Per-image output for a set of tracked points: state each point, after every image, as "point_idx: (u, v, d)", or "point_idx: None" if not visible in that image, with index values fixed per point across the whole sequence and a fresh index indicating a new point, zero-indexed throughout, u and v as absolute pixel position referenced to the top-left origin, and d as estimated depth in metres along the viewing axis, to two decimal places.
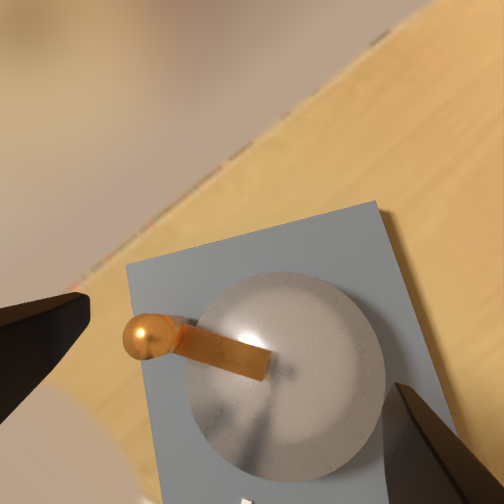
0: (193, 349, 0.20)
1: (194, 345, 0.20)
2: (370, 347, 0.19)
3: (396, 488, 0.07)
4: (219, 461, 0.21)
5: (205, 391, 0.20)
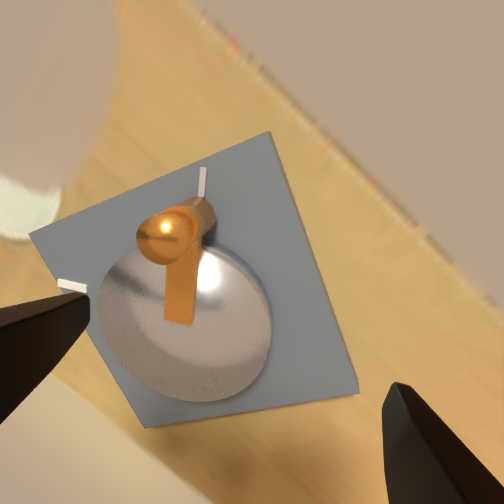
0: None
1: (179, 257, 0.19)
2: (212, 394, 0.23)
3: (396, 488, 0.07)
4: (104, 264, 0.24)
5: (145, 266, 0.20)
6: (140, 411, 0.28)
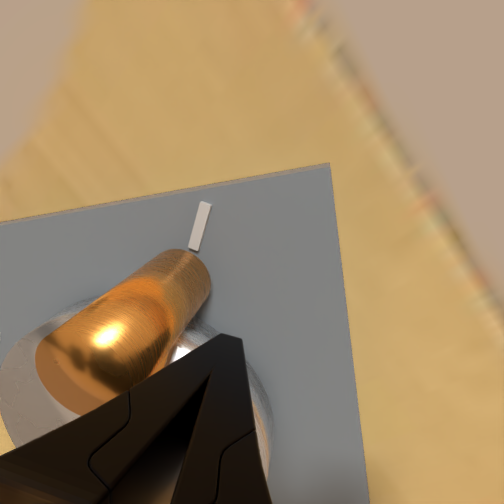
0: None
1: None
2: None
3: None
4: (27, 310, 0.15)
5: None
6: None
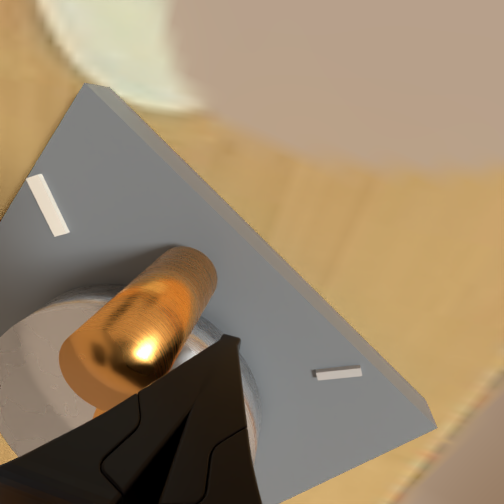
0: None
1: None
2: None
3: None
4: (125, 254, 0.13)
5: None
6: None
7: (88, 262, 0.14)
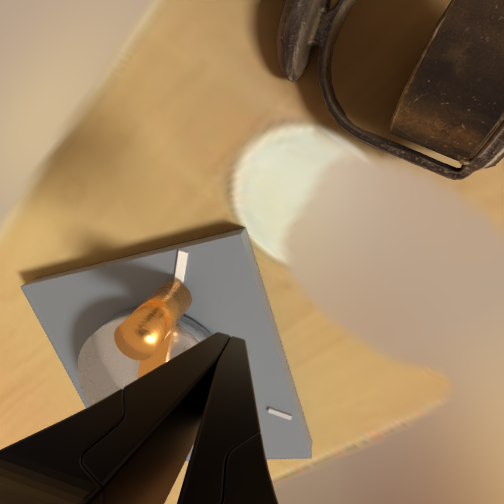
0: None
1: None
2: None
3: None
4: (206, 308, 0.23)
5: None
6: (41, 289, 0.25)
7: None
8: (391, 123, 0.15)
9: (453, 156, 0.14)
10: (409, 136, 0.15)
